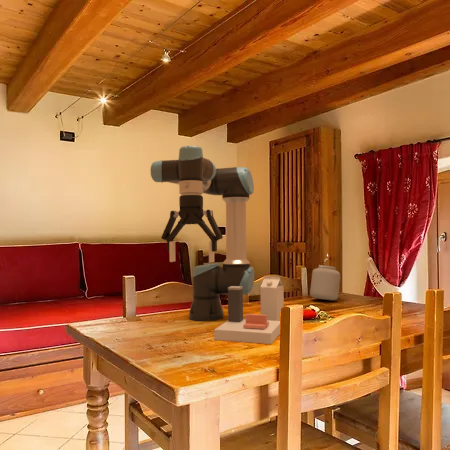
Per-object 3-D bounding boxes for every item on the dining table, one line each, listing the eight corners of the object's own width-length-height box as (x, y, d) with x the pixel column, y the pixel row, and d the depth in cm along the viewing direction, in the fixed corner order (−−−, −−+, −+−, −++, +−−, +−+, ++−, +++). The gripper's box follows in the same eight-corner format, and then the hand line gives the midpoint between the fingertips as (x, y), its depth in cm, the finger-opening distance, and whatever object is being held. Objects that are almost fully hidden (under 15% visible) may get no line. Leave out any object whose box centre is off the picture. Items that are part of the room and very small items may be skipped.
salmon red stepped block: (248, 323, 156) (248, 312, 156) (269, 324, 153) (268, 313, 153) (243, 327, 149) (243, 316, 149) (264, 329, 146) (264, 317, 146)
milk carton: (268, 320, 178) (267, 275, 178) (284, 322, 174) (283, 275, 174) (260, 324, 172) (260, 276, 172) (276, 326, 168) (276, 277, 168)
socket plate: (231, 327, 166) (231, 318, 166) (282, 330, 160) (282, 321, 160) (214, 339, 147) (214, 329, 147) (271, 343, 141) (271, 333, 141)
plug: (231, 319, 164) (231, 286, 165) (243, 319, 163) (242, 286, 163) (228, 321, 160) (227, 287, 160) (239, 322, 159) (239, 287, 159)
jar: (325, 297, 240) (324, 252, 241) (348, 300, 229) (347, 253, 230) (304, 300, 228) (303, 254, 228) (327, 304, 217) (327, 255, 217)
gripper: (150, 195, 137) (151, 262, 136) (223, 192, 128) (224, 263, 128) (161, 197, 144) (162, 260, 143) (232, 194, 135) (232, 261, 135)
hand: (191, 262), depth 136 cm, fingers open, 13 cm apart
